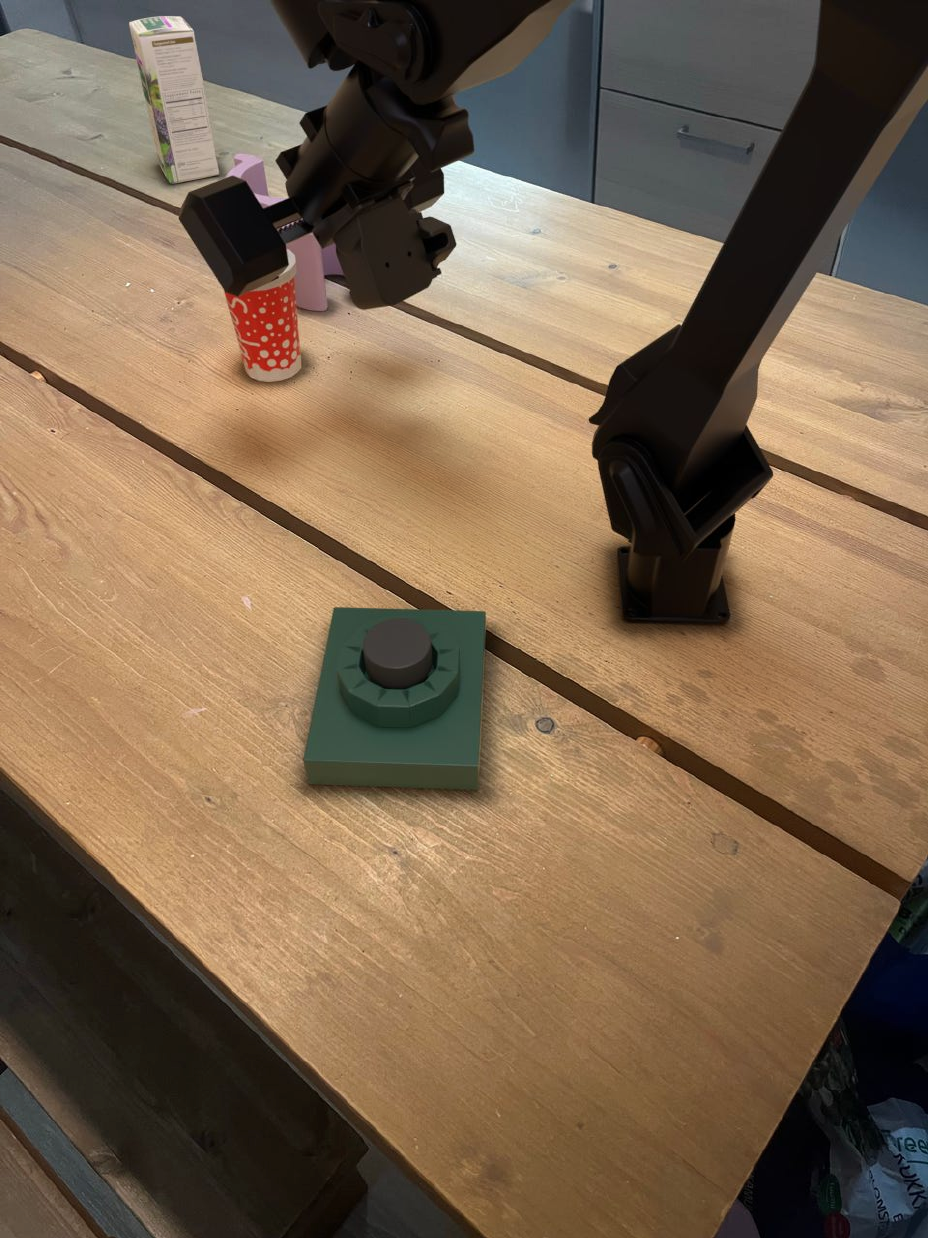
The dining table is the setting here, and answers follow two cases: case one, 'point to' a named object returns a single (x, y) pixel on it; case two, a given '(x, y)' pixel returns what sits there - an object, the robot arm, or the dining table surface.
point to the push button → (397, 653)
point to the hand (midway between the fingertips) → (277, 257)
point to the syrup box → (175, 97)
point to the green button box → (399, 707)
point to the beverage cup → (268, 327)
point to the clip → (306, 250)
